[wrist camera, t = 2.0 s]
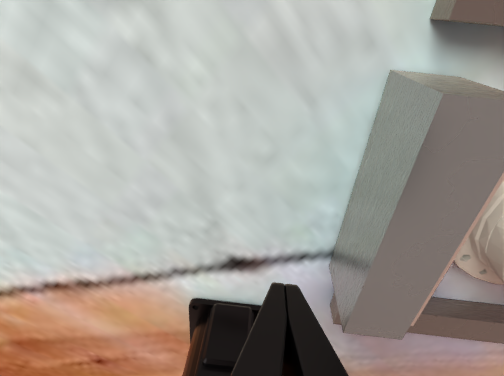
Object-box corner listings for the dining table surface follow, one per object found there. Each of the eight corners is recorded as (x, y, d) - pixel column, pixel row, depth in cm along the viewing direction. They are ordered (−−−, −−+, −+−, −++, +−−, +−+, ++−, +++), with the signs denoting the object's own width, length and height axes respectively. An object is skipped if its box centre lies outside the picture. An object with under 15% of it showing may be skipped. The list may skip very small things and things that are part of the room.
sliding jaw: (384, 272, 19) (413, 341, 15) (328, 266, 19) (343, 332, 15) (473, 78, 12) (565, 106, 9) (390, 69, 13) (443, 93, 9)
